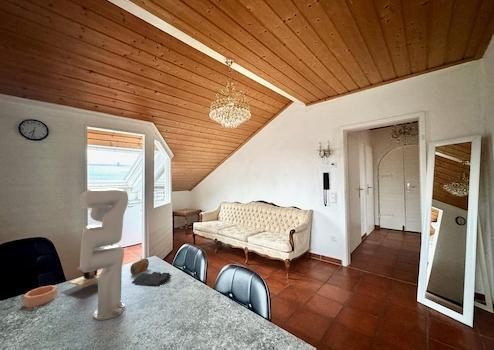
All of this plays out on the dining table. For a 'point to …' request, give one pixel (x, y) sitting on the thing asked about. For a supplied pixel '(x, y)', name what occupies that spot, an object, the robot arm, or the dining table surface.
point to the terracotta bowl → (39, 296)
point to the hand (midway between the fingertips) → (90, 276)
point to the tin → (139, 266)
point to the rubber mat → (82, 290)
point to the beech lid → (86, 282)
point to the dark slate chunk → (151, 279)
